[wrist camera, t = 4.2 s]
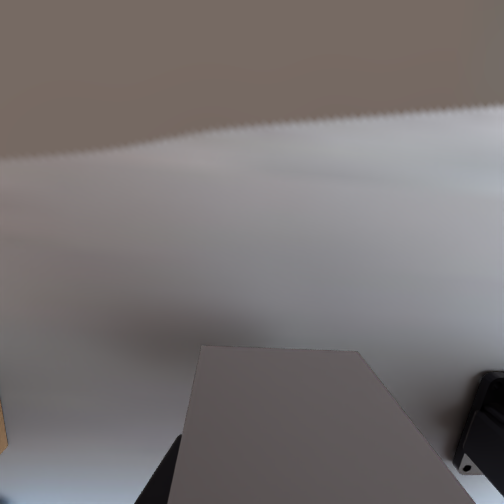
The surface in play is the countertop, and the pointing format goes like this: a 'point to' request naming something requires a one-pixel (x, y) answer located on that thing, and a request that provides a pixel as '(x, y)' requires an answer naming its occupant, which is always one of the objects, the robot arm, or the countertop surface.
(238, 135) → the countertop surface
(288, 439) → the block
